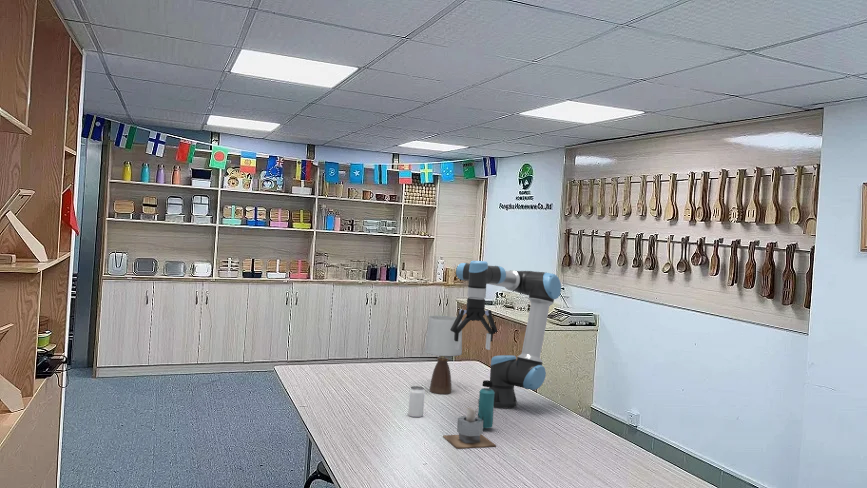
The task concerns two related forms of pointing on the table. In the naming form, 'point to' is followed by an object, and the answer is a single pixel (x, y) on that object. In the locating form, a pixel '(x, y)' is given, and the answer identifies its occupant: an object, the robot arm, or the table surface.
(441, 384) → the lamp
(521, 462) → the table surface
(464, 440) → the peg on square base
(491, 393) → the beverage bottle
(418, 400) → the can
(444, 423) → the table surface
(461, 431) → the hub
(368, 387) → the table surface
